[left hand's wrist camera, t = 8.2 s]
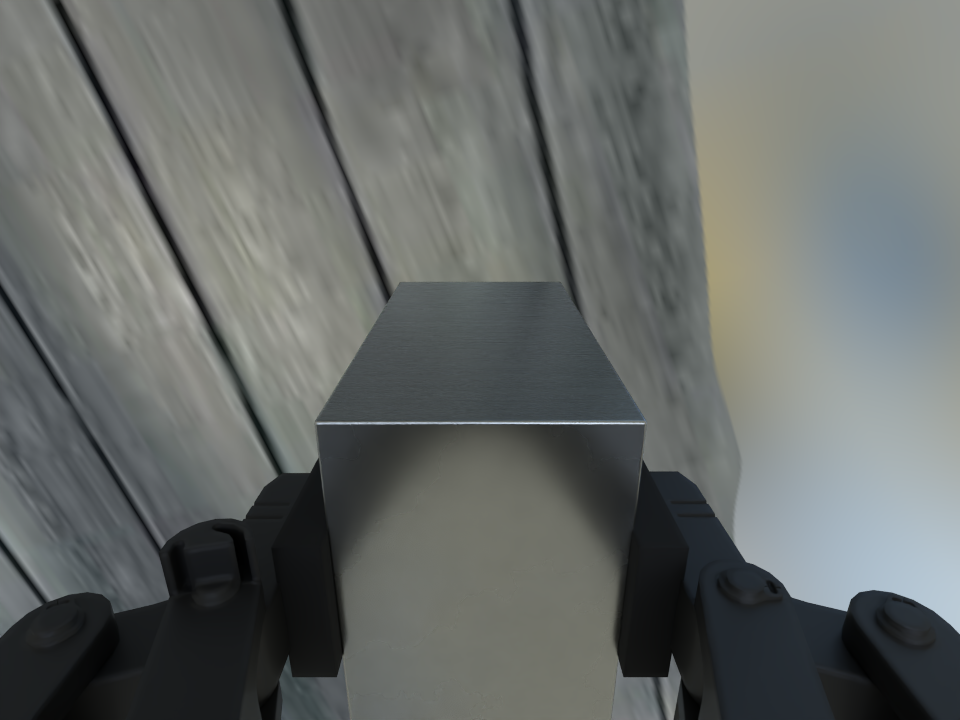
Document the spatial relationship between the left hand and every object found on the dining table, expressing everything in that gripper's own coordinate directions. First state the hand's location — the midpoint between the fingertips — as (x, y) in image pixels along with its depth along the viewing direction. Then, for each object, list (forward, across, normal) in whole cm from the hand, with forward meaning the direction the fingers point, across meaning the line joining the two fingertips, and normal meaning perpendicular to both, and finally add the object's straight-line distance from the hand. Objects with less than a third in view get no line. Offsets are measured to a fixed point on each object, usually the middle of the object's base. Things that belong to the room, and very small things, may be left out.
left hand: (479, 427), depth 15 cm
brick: (+3, 0, 0) cm, 3 cm away
